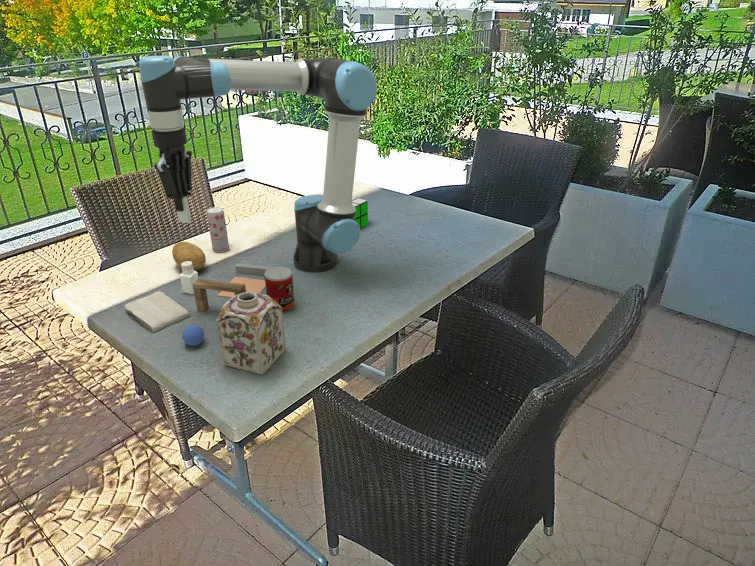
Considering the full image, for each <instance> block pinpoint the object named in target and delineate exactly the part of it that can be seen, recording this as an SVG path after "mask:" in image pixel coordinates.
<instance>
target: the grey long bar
mask: <svg viewBox="0 0 755 566" xmlns="http://www.w3.org/2000/svg"><path fill="white" fill-rule="evenodd" d="M234 267H235V273H236V274H242V275H243V274H244V275H253V276H262V277H265V271H266V270H268V269H270V268H272V267H273V266H269V265H268V266H267V265H257V264H248V263H240V262H238V263H237V264H236V265H235V266H234Z"/></svg>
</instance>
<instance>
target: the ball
mask: <svg viewBox="0 0 755 566" xmlns="http://www.w3.org/2000/svg"><path fill="white" fill-rule="evenodd" d="M181 338H182V340H183V341H182V342H184V343H185V344H186V345H188V346H192V347H195V346H198V345H200V344H201V343H202V342H203V341H204V339H205V332H204V329H203V328H202V327H201V325H198V324H189V325H187V326H186V327H184V329H183V330H182V332H181Z"/></svg>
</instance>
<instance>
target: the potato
mask: <svg viewBox="0 0 755 566" xmlns="http://www.w3.org/2000/svg"><path fill="white" fill-rule="evenodd" d="M171 250H172V251H171V253H172V254H171V255H172V259H173V260H174V262H175V264H176V265H177V267H179V268H181V269H182V266H181V264H182V263H183V262H186V261H191V262H192V265H193V271H197V270H199V269H201V268H203V267H204V265H205V264H206V262H207V259H206V254H205V252H204V251H203V249H201V248H200V247H199V246H198V245H197V244H193V243H190V242H188V241H179V242H177V243H176V242H175V244H174V245H173V246H172V249H171Z"/></svg>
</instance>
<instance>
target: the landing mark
mask: <svg viewBox="0 0 755 566" xmlns="http://www.w3.org/2000/svg"><path fill="white" fill-rule="evenodd" d="M229 282H230V283H239V284H245V287H246V292H256V293H260V294H262V292H263V291H264V290H265V289H266V284H265V279H259V278H258V279H257V278H256V279H255V278H248V277H239V276H234V277H233V278H232V279H231V280H230V281H229ZM233 296H235V294H234V292H226V291H219V293H218V294H217V297H225V298H232V297H233Z"/></svg>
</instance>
